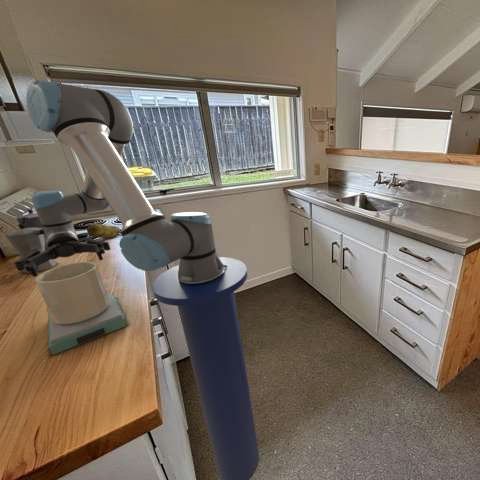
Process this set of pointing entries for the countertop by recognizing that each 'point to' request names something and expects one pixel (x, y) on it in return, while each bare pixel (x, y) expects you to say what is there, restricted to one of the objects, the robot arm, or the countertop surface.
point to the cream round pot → (73, 292)
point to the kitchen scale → (85, 327)
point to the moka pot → (31, 222)
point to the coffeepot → (29, 243)
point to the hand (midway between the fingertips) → (68, 263)
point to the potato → (103, 231)
